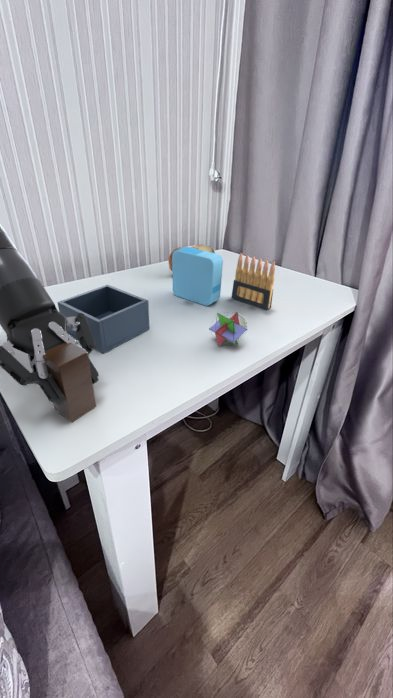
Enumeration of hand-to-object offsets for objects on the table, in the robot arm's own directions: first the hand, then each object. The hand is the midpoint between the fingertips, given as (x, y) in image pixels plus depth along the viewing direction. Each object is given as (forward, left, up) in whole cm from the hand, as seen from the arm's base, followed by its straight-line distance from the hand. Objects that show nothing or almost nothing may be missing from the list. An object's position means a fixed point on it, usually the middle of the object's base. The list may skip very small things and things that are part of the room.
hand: (78, 391), depth 47 cm
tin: (+50, +39, -4) cm, 63 cm away
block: (0, +2, -4) cm, 5 cm away
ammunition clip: (+50, +14, -4) cm, 52 cm away
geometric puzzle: (+31, +3, -4) cm, 32 cm away
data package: (+40, +24, -4) cm, 46 cm away
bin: (+14, +21, -4) cm, 25 cm away
